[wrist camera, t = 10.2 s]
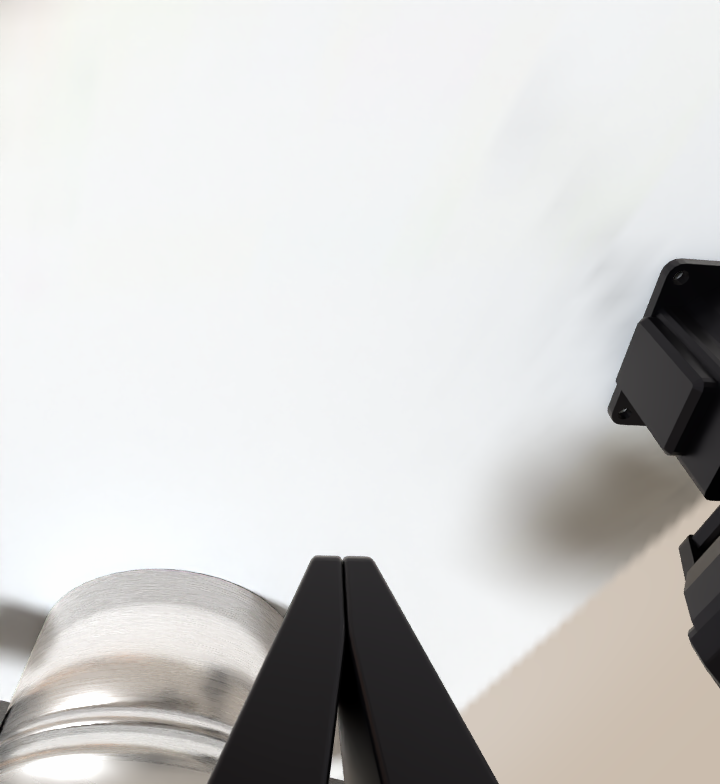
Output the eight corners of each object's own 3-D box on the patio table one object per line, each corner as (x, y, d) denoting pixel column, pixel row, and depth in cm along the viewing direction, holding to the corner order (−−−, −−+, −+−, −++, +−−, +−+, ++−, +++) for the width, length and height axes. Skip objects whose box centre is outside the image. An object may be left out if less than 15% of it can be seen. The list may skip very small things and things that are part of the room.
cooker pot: (389, 630, 31) (403, 781, 26) (277, 745, 37) (268, 888, 32) (-93, 474, 24) (-225, 634, 18) (-135, 648, 30) (-244, 808, 25)
